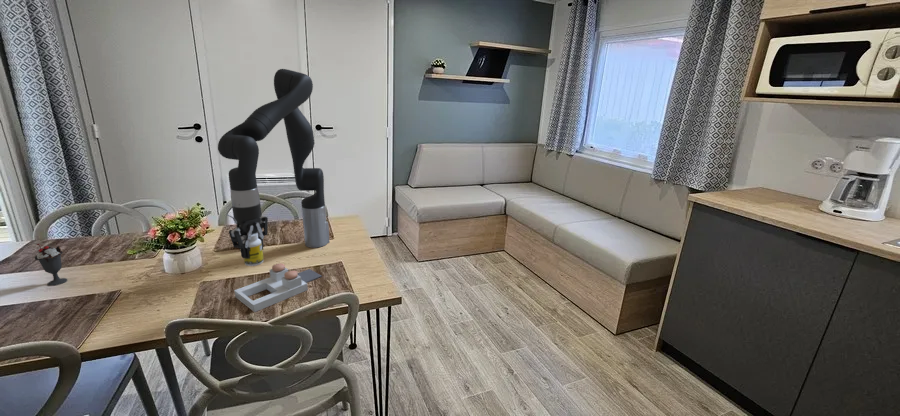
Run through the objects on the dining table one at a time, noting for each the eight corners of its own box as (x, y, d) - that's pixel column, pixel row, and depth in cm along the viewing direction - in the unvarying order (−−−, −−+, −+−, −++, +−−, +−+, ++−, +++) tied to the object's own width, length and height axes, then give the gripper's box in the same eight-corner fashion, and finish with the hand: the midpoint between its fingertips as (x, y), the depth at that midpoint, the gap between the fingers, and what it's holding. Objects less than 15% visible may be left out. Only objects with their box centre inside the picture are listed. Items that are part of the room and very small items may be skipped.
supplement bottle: (242, 267, 119) (238, 237, 116) (247, 259, 124) (243, 231, 121) (261, 265, 120) (257, 236, 117) (265, 258, 125) (261, 230, 122)
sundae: (40, 288, 127) (25, 246, 123) (48, 279, 133) (35, 239, 128) (66, 284, 130) (54, 243, 126) (73, 276, 136) (61, 236, 131)
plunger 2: (294, 279, 132) (293, 269, 131) (300, 283, 130) (299, 273, 129) (283, 283, 129) (282, 273, 128) (289, 288, 127) (288, 277, 126)
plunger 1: (282, 272, 137) (281, 262, 136) (288, 275, 134) (287, 265, 133) (271, 276, 134) (269, 266, 133) (277, 279, 132) (275, 269, 130)
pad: (309, 269, 146) (309, 268, 145) (322, 276, 141) (321, 275, 141) (289, 277, 140) (289, 276, 140) (301, 284, 135) (301, 283, 135)
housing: (287, 277, 140) (286, 263, 138) (307, 289, 132) (306, 275, 130) (235, 297, 126) (233, 282, 124) (254, 312, 118) (252, 296, 117)
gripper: (238, 211, 109) (246, 265, 114) (272, 197, 122) (278, 246, 127) (216, 208, 110) (225, 262, 116) (252, 194, 123) (259, 243, 129)
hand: (253, 253), depth 121 cm, fingers closed on supplement bottle, 5 cm apart
